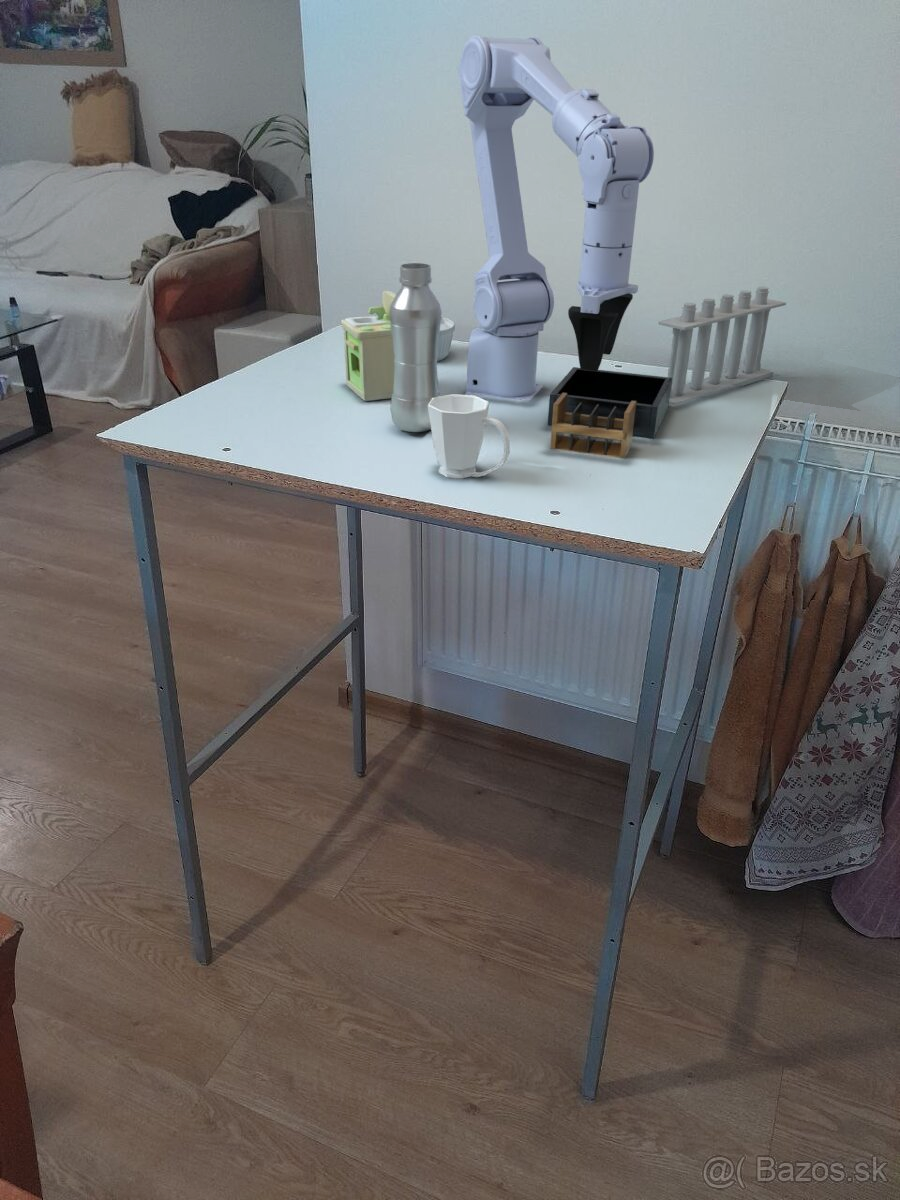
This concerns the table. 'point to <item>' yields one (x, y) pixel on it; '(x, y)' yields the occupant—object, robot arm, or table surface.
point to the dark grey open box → (616, 397)
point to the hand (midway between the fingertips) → (595, 361)
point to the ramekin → (445, 337)
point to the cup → (461, 433)
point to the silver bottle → (414, 348)
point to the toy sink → (370, 352)
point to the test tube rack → (719, 344)
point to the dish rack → (591, 430)
